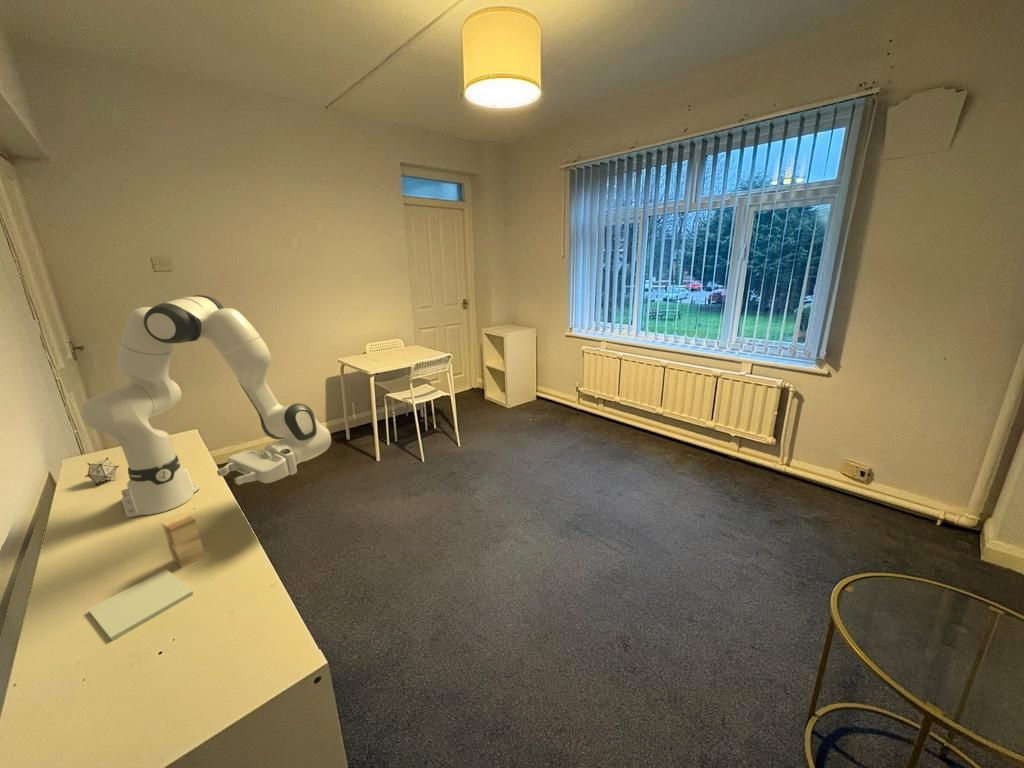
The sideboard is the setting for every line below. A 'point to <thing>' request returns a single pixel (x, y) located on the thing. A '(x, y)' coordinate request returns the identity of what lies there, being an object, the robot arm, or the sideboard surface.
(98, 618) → the sage mat
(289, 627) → the sideboard surface
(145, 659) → the sideboard surface
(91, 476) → the game die
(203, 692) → the sideboard surface
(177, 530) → the maple block
